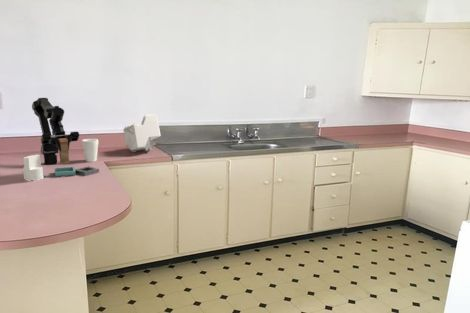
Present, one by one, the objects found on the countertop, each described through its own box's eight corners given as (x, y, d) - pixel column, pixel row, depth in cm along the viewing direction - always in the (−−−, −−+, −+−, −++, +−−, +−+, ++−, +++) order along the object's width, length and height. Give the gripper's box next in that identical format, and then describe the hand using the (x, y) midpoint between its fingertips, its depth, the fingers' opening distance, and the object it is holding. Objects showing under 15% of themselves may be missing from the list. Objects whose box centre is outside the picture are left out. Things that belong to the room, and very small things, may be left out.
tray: (55, 177, 202) (54, 172, 202) (54, 172, 211) (54, 168, 211) (75, 175, 207) (75, 171, 206) (74, 171, 216) (74, 166, 215)
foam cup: (88, 163, 234) (87, 142, 231) (80, 160, 239) (78, 140, 237) (102, 160, 241) (101, 140, 239) (93, 158, 247) (92, 138, 244)
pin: (60, 162, 208) (58, 138, 205) (67, 161, 210) (65, 138, 207) (62, 163, 205) (60, 139, 202) (69, 163, 208) (67, 139, 205)
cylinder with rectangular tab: (35, 181, 194) (33, 158, 191) (19, 180, 196) (17, 157, 193) (47, 177, 203) (45, 154, 200) (32, 175, 204) (30, 153, 202)
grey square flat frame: (74, 173, 211) (74, 169, 211) (88, 169, 219) (88, 166, 218) (85, 175, 207) (85, 172, 206) (99, 172, 214) (99, 168, 214)
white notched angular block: (136, 152, 254) (129, 115, 255) (126, 156, 266) (119, 120, 267) (163, 149, 267) (156, 114, 269) (152, 153, 279) (146, 119, 280)
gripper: (71, 134, 222) (79, 156, 217) (36, 137, 210) (43, 160, 205) (75, 122, 215) (83, 145, 209) (39, 124, 203) (46, 149, 197)
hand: (64, 150), depth 205 cm, fingers closed on pin, 4 cm apart
